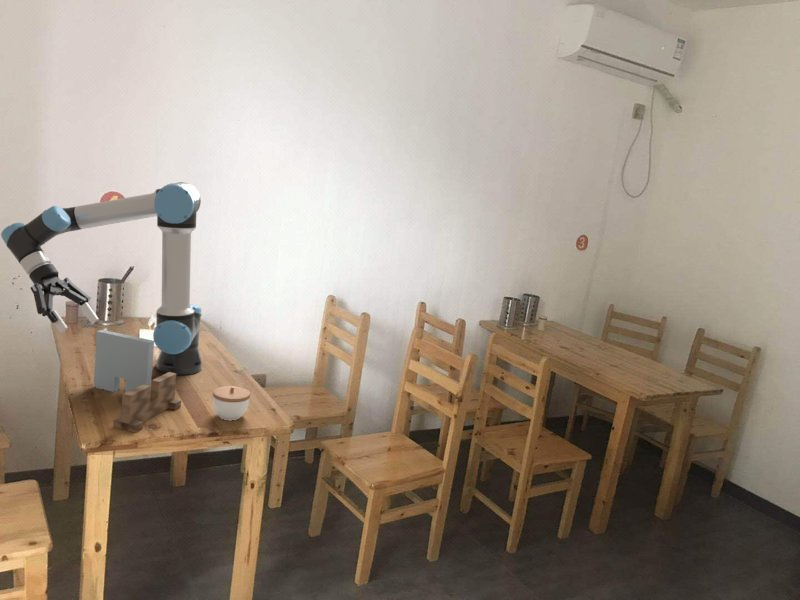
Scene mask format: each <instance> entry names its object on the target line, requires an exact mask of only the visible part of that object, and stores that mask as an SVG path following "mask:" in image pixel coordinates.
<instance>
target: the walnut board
mask: <svg viewBox="0 0 800 600" xmlns="http://www.w3.org/2000/svg"><path fill="white" fill-rule="evenodd" d="M176 382H177V374H176V373H172V372H168V373H164V374H162V375H160V376H158V377H156V378H153V379H151V386H148V385H144V384H143V385H140V386H138V387H136V388H134V389H132V390H130V391H128V392H126V393H125V392H124V393H122V399H121V411H120V412H121V413H120V414H121V416H118V417H117V418H114V419H113V420H112V421H113V423H112V427H113V428H116V429H120V430H125V431H127V432H128V431H129V432H130V433H131V432H133V433H137V432H139V431H141V430H143V429H144V423H145V422H146V421H148V420H150V419H152V418H153V417H156V416H157V415H158V414H160V413H162V412H164V411H166V410H168V409H171V410H174V411H175V410H177V409H180V408H181V407H182V400H181V399H178V398H176V397H175V396H176ZM150 387H151V392H150Z"/></svg>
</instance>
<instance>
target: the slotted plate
mask: <svg viewBox="0 0 800 600" xmlns="http://www.w3.org/2000/svg"><path fill="white" fill-rule="evenodd" d="M95 333H96V337H95V338H96V339H95V354H94V374H93V376H94V378H93V388H95V387H96V388H95V389H99V390H103V389H104V391H108V392H111V393H112V392H113V393H114V392H117V391H118V390H119V389H120V379H123V380H125V389H124V393H126V392H128V391H130V390H132V389H134V388H136V387H138V386H140V385H143V384H144V385H148V386H151V380H152V378H153V377H152V374H153V363H154V362H153V361H154V359H153V358H154V349H155V342H154V340H153V339H147V338H142V337H138V336H133V335H128V334H125V333H119V332H116V331H115V332H114V331H110V330H106V329H100V330H99V329H98V330H96V332H95ZM150 393H151V387H150Z"/></svg>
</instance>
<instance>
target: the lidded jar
mask: <svg viewBox="0 0 800 600" xmlns="http://www.w3.org/2000/svg"><path fill="white" fill-rule="evenodd" d="M250 397H251V392H250V390H248V389H247V388H244V387H240V386H235V385H234V386H233V385H225V386H219V387H216V388H215V389H214V390H213V392H212V407H213V410H214V412H215V413H216V415H217V416H218V417H219V419H221V420H223V419H224V421H227V420H228V421H229V422H231V421H232V420H234V421H238V420H239V419H241V417H242V416H243V415H244V414H245V413H246V412H247V410H248V408H249V404H250V399H251V398H250ZM237 419H238V420H237Z"/></svg>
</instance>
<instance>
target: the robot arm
mask: <svg viewBox="0 0 800 600" xmlns="http://www.w3.org/2000/svg"><path fill="white" fill-rule="evenodd" d="M201 203H202V201H201V195H200V193H199V191H198V189H196V187H195V186H193V185H191V184H189V183H188V182H183V181H181V182H180V181H179V182H175V183H169V184H167V185H164V186H163V187H161V188H157V189H155V190H154V192H152V193H146V194H142V195H141V194H140V195H135V196H128V197H123V198H118V199H117V198H116V199H112V200H106V201H100V202H95V203H90V204H84V205H77V206H72V207H63V208H62V207H59V206H58V205H52V206H51V207H49V208H47V209H45V210H43V211H42V213H40V214H39V215H37V216H36V217H34V219H32V220H31V221H29V222H28V223H26V224H24V223H23V222H15V223H12V224H10V225H8V226H6V227H5V228H3V230H2V231H1V233H0V236H1V239H2V240H3V241H4V244H5V246H6V247H7V249H8V250H9V251H10V252H11V254H12V255H13V256H14V257H15V259H16V260H17V261H18V263H19V265H21V267H22V269H23V270H24V271H25V273H26V274H27V275H29V276H28V277H29V279H30V280H31V282H32V283H33V285H32V286H31V287H30V290H31V292H32V294H33V297H34V302H35V307H36V311H37V315H41V316H42V317H47V318H48V319H49V321H50V322H51V323H52V324H53V325H54V326H55V327H56V329H57V331H58V332H59V333H60V334H61V333H63V332H65V331H66V330H67V329H68V328H69V327H68V326H67V324H66V323H65V322H64V320H63V318H62V317H61V315H60V314H59V312H58V311H57V310H56V309H54V310H53V305H54V304H53V302H54V297H55V296H61V297H65V298H67V299H69V300H71V301H72V302H74V303H76V304H77V305H79V306H80V307H79V309H81V312H82V313H83V315H84V316H86V318H87V320H88V321H89V322H90V324H91V325H93V324H95V323H96V322H97V321H98V320H99V319H100V318H99V317H98V316H97V313H96V312H95V311H94V308H93V307H92V306H91V304H89V302H90V300H92V299H91V298H92V297H90V295H88V294H87V292H84V290H82V289H81V288H79V287H78V286H77V285H76V284H74V283H73V282H72V281H71V280H70V279H69V277H65V278H64V279H61V278H60V277H59V271H58V270H57V268H56V267H55V266H54V264H53V263H52V261H51V260H50V258H49V257H48V255H47V254H46V253H45V252H44V250H43V248H42V246H43V245H45V244H46V243H48V242H49V241H50V240H52V239H53V238H54V237H56V236H59V235H63V234H65V233H69V232H75V231H81V230H85V229H92V228H97V227H103V226H108V225H113V224H121V223H127V222H130V221H131V222H132V221H136V220H143V219H148V218H154V217H156V218H157V219H156V222H157V223H156V227H158V229H159V230H160V231H161V232H162V233H161V234H162V239H161V240H162V241H161V242H162V243H161V246H162V247H161V305H160V307H158V308H157V309H156V318H155V319H156V323H155V325H156V326H155V328H154V330H153V334H152V335H153V336H152V337H153V339H152V340H153V341H154V345H155V346H156V347H157V348H158V349H159V350H160V352H159V354H158V357H157V360H156V365H155V366H156V367H155V368H156V369H157V370H158V371H160V372H163V373H164V374H166V373H168V372H172V373H176V375H179V376H180V375H181V376H183V375H193V374H197V373H199V372H201V370H202V368H203V366H202V365H203V361H202V357H201V353H200V349H199V343H200V342H199V341H200V331H201V330H200V329H201V317H202V308H201V306H199V305H197V304H193V303H192V304H191V302H190V301H191V294H190V293H191V252H192V250H191V249H192V248H191V247H192V246H191V245H192V244H191V242H192V241H191V240H192V232H193V231H194V230H196V229H197V213H198V211H199V209H200V208H201V207H200V206H201Z"/></svg>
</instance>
